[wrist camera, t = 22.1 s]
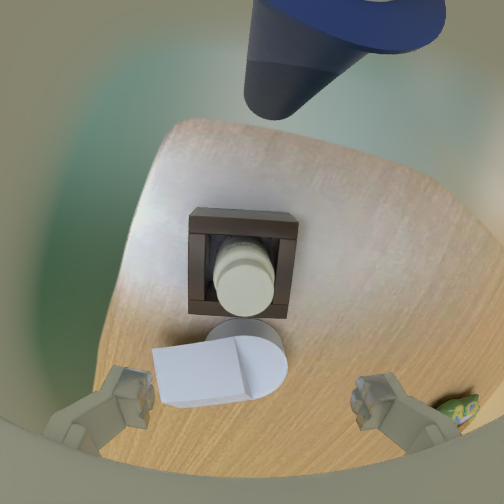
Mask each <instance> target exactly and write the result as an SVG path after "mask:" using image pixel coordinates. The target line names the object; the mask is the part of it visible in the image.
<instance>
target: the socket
mask: <svg viewBox="0 0 504 504" xmlns="http://www.w3.org/2000/svg"><path fill="white" fill-rule="evenodd" d="M298 225H299V222H297V221H296V220H295V219H294V218H293V217H292V216H291V215H290V214H289V213H280V212H267V211H252V210H237V209H220V208H200V207H197V208H196V209H195V210H194V211H193V212H192V213H191V214H190V215H189V231H188V232H189V234H188V314H195V315H210V316H227V317H242V316H236V315H234V314H231V313H230V312H228V311H227V310H225V309H224V308H223V306H222V305H221V304H220V302H219V300H218V297H217V291H216V289H215V286H214V281H209V255H210V234H218V235H235V236H252V237H268V238H272V243H271V253H270V261H271V264H272V267H273V270H274V295H273V299H272V301H271V303H270V304H269V306H268V307H267V308H266V309H265V310H263V311H262V312H260V313H259V314H256V315H253V316H247V317H248V318H277V319H286V318H287V311H288V304H289V297H290V290H291V282H292V275H293V267H294V259H295V251H296V243H297V234H298Z"/></svg>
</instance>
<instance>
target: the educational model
mask: <svg viewBox="0 0 504 504" xmlns="http://www.w3.org/2000/svg"><path fill="white" fill-rule="evenodd" d="M478 397H479V395H478V394H475V395H471V396H467V397H464V398H461V399H459V400H458V399H452V400H449V401H446V402H445V403H443V404H441V405H440V406H439V407H437V408H436V410H438V411H439V412H441V413H443V414H445V415H447V416H449V417H451V419H452V420H453V422H454V423H455V425H456V426H457V428H458V429H459V431H460V432H462V431H463V430H464V429H465V428H466V427H467V426H468V425H469V424H470V423H471V422H472V420H473V419H474V418H475V416H476V414H477V412H478V411H479V408H480V406H479V403H478Z"/></svg>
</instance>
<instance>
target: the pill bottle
mask: <svg viewBox="0 0 504 504" xmlns="http://www.w3.org/2000/svg"><path fill="white" fill-rule="evenodd" d="M213 281H214V286H215V289H216V291H217V297H218V300H219V302H220V304H221V305H222V306H223V308H224V309H225V310H227V311H228V312H230V313H231V314H234V315H236V316H242V317H247V316H253V315H256V314H259V313H260V312H262V311H263V310H265V309H266V308H267V307H268V306H269V304H270V303H271V301H272V299H273V295H274V270H273V267H272V264H271V261H270V259H269V256H268V253H267V251H266V248H265V246H264V244H263V242H262V241H261V240H260V239H259V238H258V237H252V236H235V235H228V236H226V237H225V238H224V239H223V240H222V241H221V243H220V244H219V246H218V249H217V253H216V262H215V267H214V273H213Z"/></svg>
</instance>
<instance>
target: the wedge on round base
mask: <svg viewBox="0 0 504 504" xmlns="http://www.w3.org/2000/svg"><path fill="white" fill-rule="evenodd" d="M152 353H153V359H154V365H155V371H156V377H157V382H158V388H159V393H160V398H161V403H164V404H168V405H171V406H175V407H179V408H190V407H200V406H210V405H218V404H226V403H233V402H240V401H246V400H252V399H257V398H260V397H263V396H266V395H268V394H270V393H271V392H273V391H274V390H276V389H277V388H278V387H279V386H280V385H281V384H282V382H283V381H284V379H285V377H286V375H287V370H288V363H287V359H286V355H285V351H284V347H283V343H282V340H281V337H280V336H279V334H278V333H277V332H276V330H275V329H273V328H272V327H271V326H270V325H268V324H266V323H264V322H262V321H259V320H256V319H250V318H237V319H232V320H228V321H225V322H223V323H221V324H219V325H217V326H216V327H215V328H213V329H212V330H211V331H210V333H209V334H208V335H207V337H206V339H205V341H204V342H199V343H192V344H185V345H179V346H171V347H164V348H156V349H152Z"/></svg>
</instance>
